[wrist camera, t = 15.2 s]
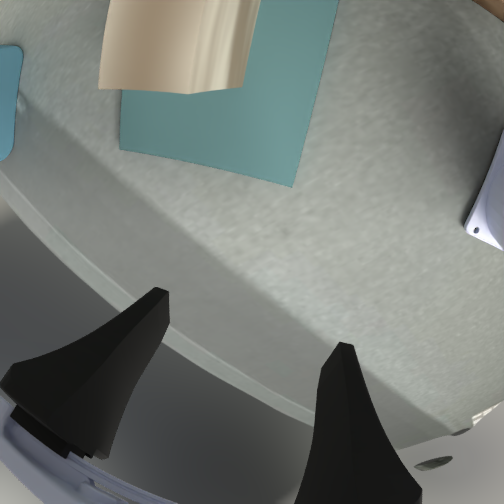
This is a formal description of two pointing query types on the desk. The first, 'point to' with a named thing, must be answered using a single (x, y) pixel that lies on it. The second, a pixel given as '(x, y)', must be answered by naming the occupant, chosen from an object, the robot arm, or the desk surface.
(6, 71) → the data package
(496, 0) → the frame
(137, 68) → the ash blank
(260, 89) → the slate-teal mat
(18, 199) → the desk surface
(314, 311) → the desk surface
